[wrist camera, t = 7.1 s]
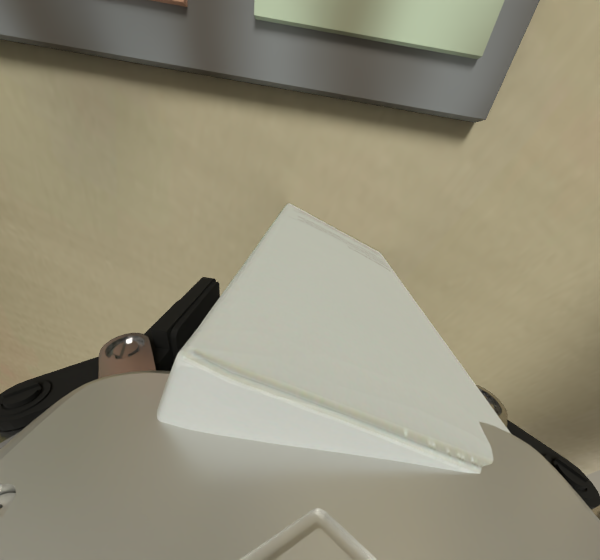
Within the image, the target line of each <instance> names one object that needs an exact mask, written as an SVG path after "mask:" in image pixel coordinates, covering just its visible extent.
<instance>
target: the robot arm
mask: <svg viewBox="0 0 600 560" xmlns="http://www.w3.org/2000/svg"><path fill="white" fill-rule="evenodd" d="M219 298H220V294H219V283H218V282H216V280H215V279H212V278H206V277H203V278H201V279H200V280H199V281H198V282H197V283H196V284H195V285H194V286H193V287H192V288H191V289H190V290H189V291H188V292H187V293H186V294H185V295H184V296H183V297H182V298H181V299H180V300H179V301H177V302H176V303H175V304H174V305H173V306H172V307H171V308H170V309H169V310H168V311H167V312H166V313H165V314H164V315H163V316H162V317H161V318H160V319H159V320H158V321H157V322H156V323H155V324H154V325H153V326H152V327H151V328H150V329H149V330H148V331H147V332H146V333H145V334H141V333H129V334H124V335H121V336H118V337H116V338H114V339H112V340H110V341H109V342H107V343H106V344H105V345H104V346H103V347H102V348H101V350H100V353H99V357H96V358H93V359H90V360H87V361H84V362H81V363H78V364H75V365H72V366H69V367H66V368H63V369H60V370H57V371H54V372H51V373H48V374H45V375H42V376H39V377H36V378H33V379H30V380H27V381H24V382H22V383H19V384H17V385H15V386H13V387H11V388H9V389H8V390H6V391H4V392H3V393H1V394H0V560H600V496H599V493H598V491H597V490H596V488H595V487H594V485H593V484H592V482H591V481H590V480H589V479H588V478H587V477H586V476H585V474H584V473H583V472H582V471H581V470H580V469H579V468H577V467H576V466H575V465H574V464H572V463H571V462H569V461H568V460H567V459H565V458H564V457H562V456H561V455H559V454H558V453H556V452H555V451H553V450H552V449H550V448H549V447H547V446H546V445H544V444H543V443H541V442H540V441H538V440H537V439H535V438H534V437H532V436H531V435H529V434H528V433H526V432H525V431H523V430H522V429H520V428H519V427H517V426H516V425H514V424H513V423H511V422H510V421H508V420H507V411H506V409H505V407H504V405H503V404H502V403H501V402H500V400H499V399H498V398H497V397H496V396H494V395H493V394H492V393H491V392H489V391H488V390H486V389H485V388H482V387H480V386H478V385H476V386H477V387H478V389H479V390H480V392H481V393H482V394H483V396H484V397H485V398H486V400H487V401H488V403H489V404H490V405H491V407H492V408H493V410H494V411H495V412H496V414H497V415H498V416H499V418H500V419H501V421H502V422H503V423H504V425H505V426H506V427H507V429H508V430H509V432H510V433H511V434H510V433H508V432H506V431H504V430H502V429H500V428H498V427H496V426H493V425H491V424H487V423H484V422H479V424H480V426H481V428H482V430H483V432H484V434H485V436H486V438H487V440H488V441H489V443H490V445H491V449H492V454H493V462H492V464H489V465H486V466H483V467H482V469H481V472H480V474H478V473H466V472H459V471H453V470H447V469H441V468H435V467H429V466H423V465H417V464H411V463H405V462H399V461H393V460H386V459H379V458H372V457H365V456H358V455H352V454H345V453H338V452H331V451H324V450H317V449H310V448H302V447H295V446H287V445H280V444H273V443H266V442H260V441H254V440H247V439H241V438H235V437H228V436H221V435H215V434H209V433H204V432H199V431H194V430H189V429H185V428H181V427H177V426H174V425H171V424H167V423H164V422H160V421H159V420H158V419H157V409H158V406H159V403H160V400H161V397H162V394H163V391H164V388H165V385H166V382H167V380H168V377H169V374H170V372H171V369H172V366H173V363H174V361H175V359H176V356H177V354H178V352H179V351H180V350H181V349H182V347H183V346H184V345H185V344H186V342H187V341H188V340H189V338H190V337H191V336H192V335H193V333H194V332H195V331H196V330H197V328H198V327H199V326H200V324H201V323H202V321H203V320H204V318H205V317H206V316H207V314H208V313H209V311H210V310H211V309H212V307H213V306H214V304H215V303H216V302H217V300H218V299H219Z"/></svg>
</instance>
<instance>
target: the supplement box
mask: <svg viewBox="0 0 600 560" xmlns="http://www.w3.org/2000/svg"><path fill="white" fill-rule="evenodd" d="M157 419H158V420H159V421H160V422H164V423H167V424H171V425H174V426H177V427H181V428H185V429H189V430H194V431H199V432H204V433H209V434H215V435H221V436H228V437H235V438H241V439H247V440H254V441H260V442H266V443H273V444H280V445H287V446H295V447H302V448H310V449H317V450H324V451H331V452H338V453H345V454H352V455H358V456H365V457H372V458H379V459H386V460H393V461H399V462H405V463H411V464H417V465H423V466H429V467H435V468H441V469H447V470H453V471H459V472H466V473H478V474H480V472H481V469H482V467H483V466H486V465H489V464H492V462H493V454H492V449H491V445H490V443H489V441H488V440H487V438H486V436H485V434H484V432H483V430H482V428H481V426H480V424H479V422H484V423H487V424H491V425H493V426H496V427H498V428H500V429H502V430H504V431H506V432H508V433H510V432H509V430H508V429H507V427H506V426H505V425H504V423H503V422H502V421H501V419H500V418H499V416H498V415H497V414H496V412H495V411H494V410H493V408H492V407H491V405H490V404H489V403H488V401H487V400H486V398H485V397H484V396H483V394H482V393H481V392H480V390H479V389H478V387H477V386H476V385H475V383H474V382H473V381H472V379H471V378H470V376H469V375H468V374H467V372H466V371H465V369H464V368H463V367H462V365H461V364H460V362H459V361H458V360H457V358H456V357H455V355H454V354H453V353H452V351H451V350H450V349H449V347H448V346H447V344H446V343H445V342H444V340H443V339H442V338H441V336H440V335H439V333H438V332H437V331H436V329H435V328H434V326H433V325H432V324H431V322H430V321H429V320H428V318H427V317H426V315H425V314H424V313H423V311H422V310H421V308H420V307H419V306H418V304H417V303H416V302H415V300H414V299H413V297H412V296H411V295H410V293H409V292H408V290H407V289H406V288H405V286H404V285H403V284H402V282H401V281H400V279H399V278H398V276H397V275H396V274H395V272H394V271H393V270H392V268H391V267H390V265H389V264H388V263H387V261H386V260H385V258H384V257H383V256H382V254H381V253H380V252H378V251H376V250H374V249H373V248H371V247H369V246H367V245H365V244H363V243H362V242H360V241H358V240H356V239H354V238H352V237H351V236H349V235H347V234H345V233H343V232H341V231H339V230H338V229H336V228H334V227H332V226H330V225H329V224H327V223H325V222H323V221H321V220H319V219H318V218H316V217H314V216H312V215H310V214H309V213H307V212H305V211H303V210H301V209H299V208H297V207H296V206H294V205H292V204H289V203H288V204H287V205H286V206H285V207H284V208H283V210H282V211H281V212H280V214H279V215H278V217H277V218H276V220H275V221H274V222H273V224H272V225H271V226H270V228H269V229H268V231H267V232H266V233H265V235H264V236H263V238H262V239H261V241H260V242H259V244H258V245H257V246H256V248H255V249H254V251H253V252H252V253H251V255H250V256H249V257H248V259H247V260H246V262H245V263H244V264H243V266H242V267H241V269H240V270H239V271H238V273H237V274H236V275H235V277H234V278H233V280H232V281H231V282H230V284H229V285H228V286H227V288H226V289H225V291H224V292H223V293H222V295H221V296H220V298H219V299H218V300H217V302H216V303H215V304H214V306H213V307H212V309H211V310H210V311H209V313H208V314H207V316H206V317H205V318H204V320H203V321H202V323H201V324H200V326H199V327H198V328H197V330H196V331H195V332H194V333H193V335H192V336H191V337H190V338H189V340H188V341H187V342H186V344H185V345H184V346H183V347H182V349H181V350H180V351H179V352H178V354H177V356H176V359H175V361H174V363H173V366H172V369H171V372H170V374H169V377H168V380H167V382H166V385H165V388H164V391H163V394H162V397H161V400H160V403H159V406H158V409H157ZM510 434H511V433H510Z"/></svg>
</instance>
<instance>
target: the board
mask: <svg viewBox="0 0 600 560" xmlns="http://www.w3.org/2000/svg"><path fill="white" fill-rule="evenodd" d="M539 1H540V0H0V39H3V40H8V41H14V42H20V43H26V44H31V45H37V46H43V47H48V48H54V49H60V50H65V51H71V52H77V53H83V54H88V55H94V56H100V57H105V58H111V59H117V60H122V61H128V62H134V63H139V64H145V65H151V66H157V67H162V68H168V69H174V70H179V71H185V72H191V73H196V74H202V75H208V76H214V77H219V78H225V79H231V80H236V81H242V82H248V83H253V84H259V85H265V86H271V87H276V88H282V89H288V90H293V91H299V92H305V93H310V94H316V95H322V96H327V97H333V98H339V99H345V100H350V101H356V102H362V103H367V104H373V105H379V106H384V107H390V108H396V109H402V110H407V111H413V112H419V113H424V114H430V115H436V116H441V117H447V118H453V119H459V120H464V121H470V122H479V121H482V120H486V118H487V116H488V113H489V111H490V109H491V107H492V105H493V102H494V100H495V98H496V96H497V93H498V91H499V89H500V87H501V85H502V82H503V80H504V78H505V76H506V74H507V71H508V69H509V67H510V65H511V63H512V60H513V58H514V56H515V54H516V51H517V49H518V47H519V45H520V43H521V40H522V38H523V36H524V34H525V32H526V29H527V27H528V25H529V23H530V20H531V18H532V16H533V14H534V12H535V9H536V7H537V5H538V3H539Z"/></svg>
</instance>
